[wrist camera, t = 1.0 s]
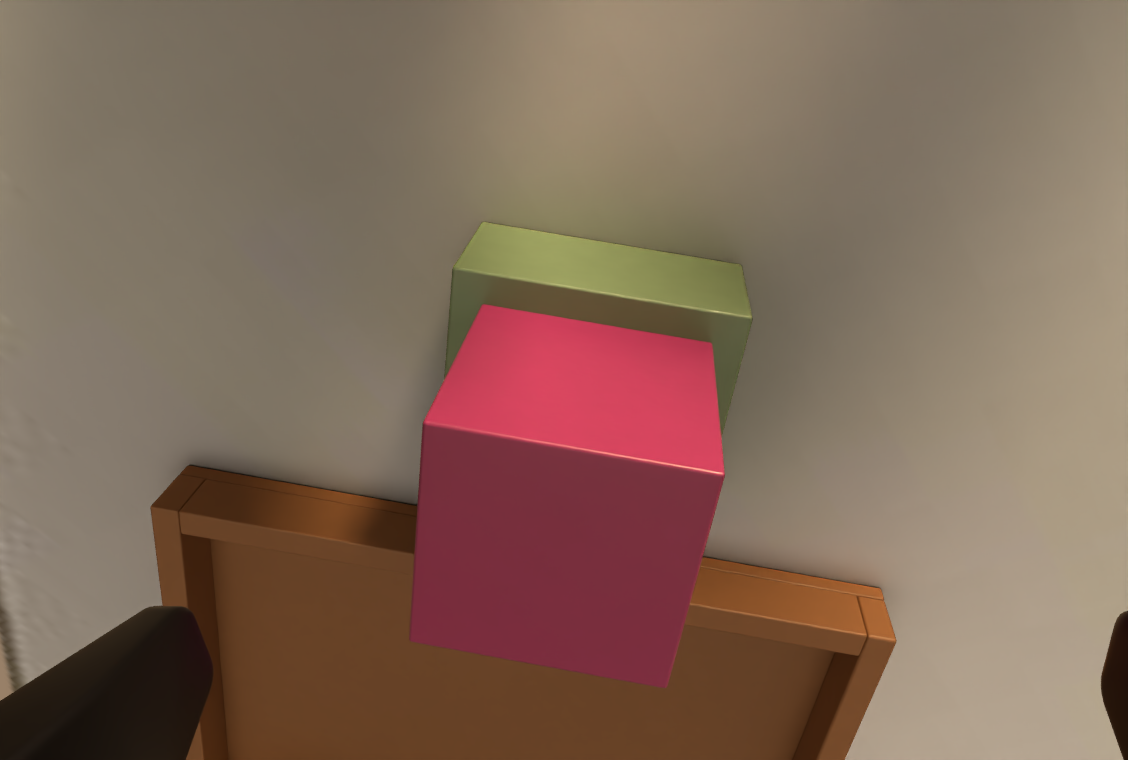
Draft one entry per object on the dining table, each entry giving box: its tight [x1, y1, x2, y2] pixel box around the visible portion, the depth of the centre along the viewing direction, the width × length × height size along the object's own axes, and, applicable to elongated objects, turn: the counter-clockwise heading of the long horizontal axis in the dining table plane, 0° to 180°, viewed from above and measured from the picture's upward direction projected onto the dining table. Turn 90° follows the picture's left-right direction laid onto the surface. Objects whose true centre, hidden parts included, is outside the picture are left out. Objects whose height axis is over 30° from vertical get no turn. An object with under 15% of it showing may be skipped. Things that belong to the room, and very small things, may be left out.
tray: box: [151, 465, 896, 760], centre depth 27 cm, size 21×14×2 cm, turn 82°
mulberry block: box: [409, 304, 725, 688], centre depth 17 cm, size 5×5×5 cm
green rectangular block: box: [444, 222, 753, 437], centre depth 21 cm, size 6×6×3 cm
